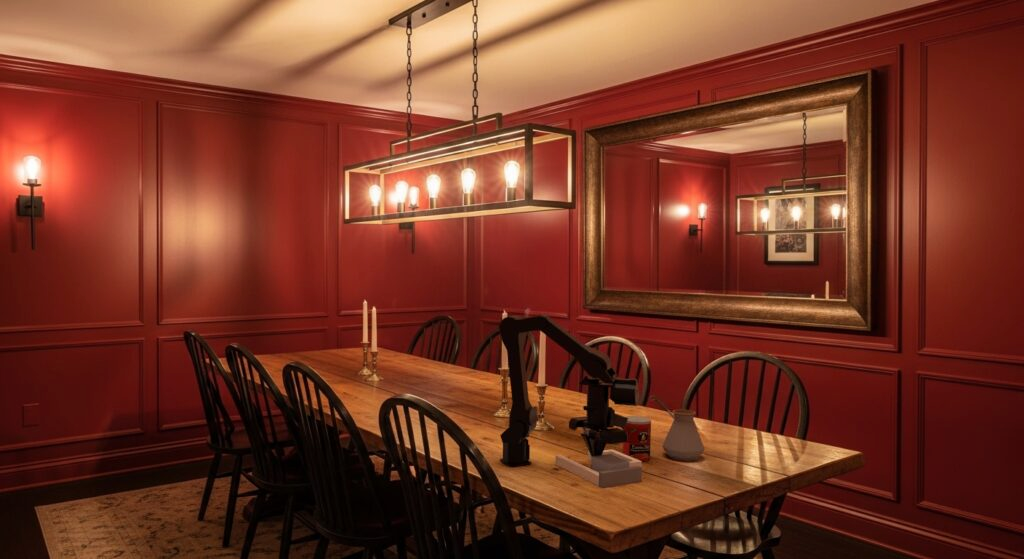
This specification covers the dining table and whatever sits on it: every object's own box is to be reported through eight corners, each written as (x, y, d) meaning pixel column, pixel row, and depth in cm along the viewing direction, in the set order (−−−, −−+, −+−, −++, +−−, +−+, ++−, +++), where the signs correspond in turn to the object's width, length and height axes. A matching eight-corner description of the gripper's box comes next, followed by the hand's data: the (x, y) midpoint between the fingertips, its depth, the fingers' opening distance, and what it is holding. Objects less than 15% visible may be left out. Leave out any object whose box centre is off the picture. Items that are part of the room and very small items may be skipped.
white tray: (602, 487, 172) (602, 473, 172) (555, 464, 191) (555, 451, 191) (659, 478, 181) (659, 464, 181) (608, 456, 200) (609, 444, 200)
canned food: (630, 462, 194) (630, 422, 194) (617, 454, 202) (618, 416, 202) (655, 460, 196) (656, 421, 196) (642, 453, 204) (643, 415, 204)
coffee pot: (712, 460, 198) (714, 406, 197) (678, 464, 193) (680, 409, 193) (666, 441, 217) (667, 392, 217) (634, 445, 213) (635, 395, 212)
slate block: (609, 485, 175) (609, 464, 175) (590, 476, 182) (591, 456, 182) (628, 481, 178) (629, 461, 178) (610, 473, 185) (610, 453, 185)
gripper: (645, 407, 180) (644, 468, 180) (602, 394, 196) (601, 450, 197) (609, 410, 175) (608, 474, 175) (568, 397, 191) (567, 455, 192)
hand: (596, 462), depth 185 cm, fingers closed
